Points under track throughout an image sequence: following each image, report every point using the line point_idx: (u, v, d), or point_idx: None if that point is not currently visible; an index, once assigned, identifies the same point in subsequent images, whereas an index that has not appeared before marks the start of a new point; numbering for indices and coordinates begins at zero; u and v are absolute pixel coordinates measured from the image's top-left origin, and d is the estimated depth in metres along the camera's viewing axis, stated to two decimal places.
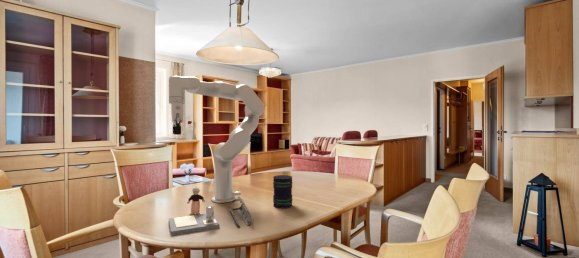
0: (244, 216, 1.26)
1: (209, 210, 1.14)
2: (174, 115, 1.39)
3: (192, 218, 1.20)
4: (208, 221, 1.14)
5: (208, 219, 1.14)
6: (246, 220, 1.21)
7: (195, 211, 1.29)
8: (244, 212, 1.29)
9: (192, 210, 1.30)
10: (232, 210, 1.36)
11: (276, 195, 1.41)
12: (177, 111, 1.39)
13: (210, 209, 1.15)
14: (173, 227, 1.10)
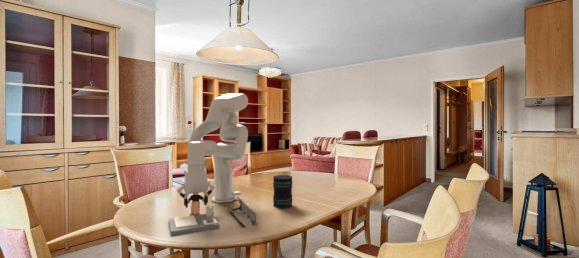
0: (246, 216, 1.26)
1: (209, 210, 1.14)
2: (207, 184, 1.31)
3: (192, 218, 1.20)
4: (208, 221, 1.14)
5: (208, 219, 1.14)
6: (249, 220, 1.22)
7: (195, 211, 1.29)
8: (245, 212, 1.30)
9: (192, 210, 1.30)
10: (231, 210, 1.36)
11: (276, 195, 1.41)
12: None
13: (210, 209, 1.15)
14: (173, 227, 1.10)
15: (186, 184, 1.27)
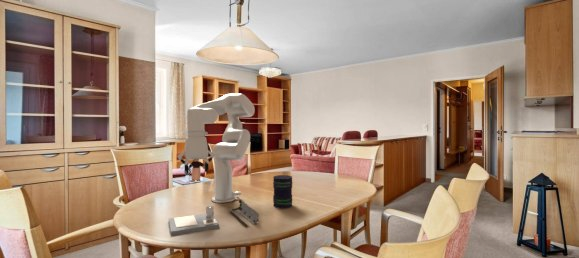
0: (247, 216, 1.27)
1: (209, 210, 1.14)
2: (207, 151, 1.31)
3: (192, 218, 1.20)
4: (208, 221, 1.14)
5: (208, 219, 1.14)
6: (251, 219, 1.22)
7: (196, 177, 1.29)
8: (246, 212, 1.30)
9: (193, 177, 1.30)
10: (231, 210, 1.36)
11: (276, 195, 1.41)
12: None
13: (210, 209, 1.15)
14: (173, 227, 1.10)
15: (186, 150, 1.27)
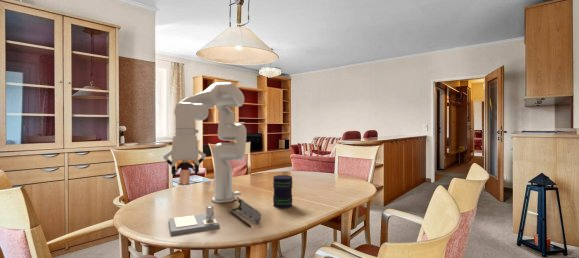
0: (248, 215, 1.27)
1: (209, 210, 1.14)
2: (198, 151, 1.17)
3: (192, 218, 1.20)
4: (208, 221, 1.14)
5: (208, 219, 1.14)
6: (253, 219, 1.22)
7: (184, 181, 1.15)
8: (246, 211, 1.30)
9: (181, 180, 1.15)
10: None
11: (276, 195, 1.41)
12: (197, 146, 1.18)
13: (210, 209, 1.15)
14: (173, 227, 1.10)
15: (174, 150, 1.12)
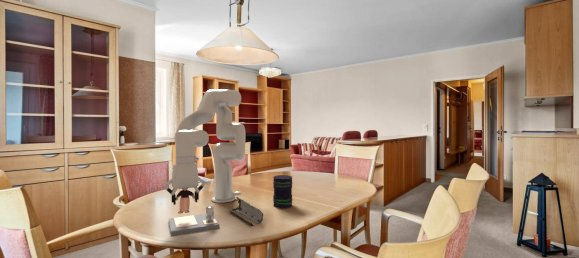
0: (249, 215, 1.27)
1: (209, 210, 1.14)
2: (198, 178, 1.17)
3: (192, 218, 1.20)
4: (208, 221, 1.14)
5: (208, 219, 1.14)
6: (254, 219, 1.23)
7: (184, 209, 1.15)
8: (247, 211, 1.30)
9: (181, 208, 1.16)
10: None
11: (276, 195, 1.41)
12: None
13: (210, 209, 1.15)
14: (173, 227, 1.10)
15: (174, 178, 1.12)
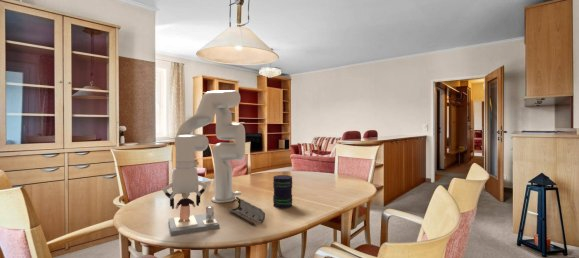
0: (250, 215, 1.27)
1: (209, 210, 1.14)
2: (198, 183, 1.17)
3: (192, 218, 1.20)
4: (208, 221, 1.14)
5: (208, 219, 1.14)
6: (256, 218, 1.23)
7: (184, 217, 1.15)
8: (248, 211, 1.31)
9: (181, 216, 1.16)
10: (231, 211, 1.35)
11: (276, 195, 1.41)
12: None
13: (210, 209, 1.15)
14: (173, 227, 1.10)
15: (174, 183, 1.12)
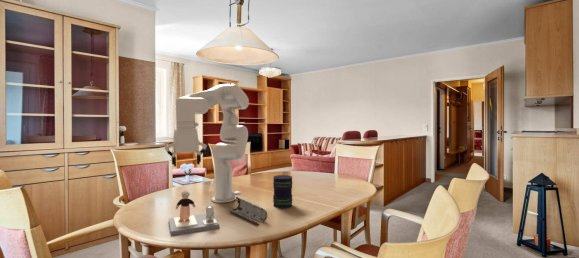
0: (251, 215, 1.28)
1: (209, 210, 1.14)
2: (198, 143, 1.23)
3: (192, 218, 1.20)
4: (208, 221, 1.14)
5: (208, 219, 1.14)
6: (258, 218, 1.24)
7: (184, 217, 1.15)
8: (248, 211, 1.31)
9: (181, 216, 1.16)
10: (231, 211, 1.35)
11: (276, 195, 1.41)
12: None
13: (210, 209, 1.15)
14: (173, 227, 1.10)
15: (175, 142, 1.19)
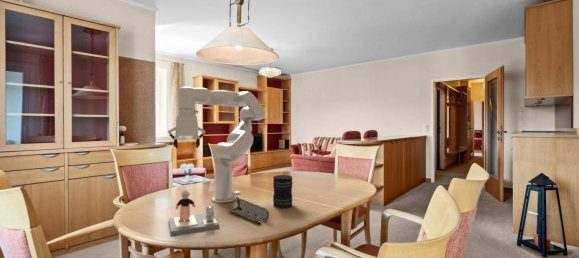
0: (252, 214, 1.28)
1: (209, 210, 1.14)
2: (197, 128, 1.38)
3: (192, 218, 1.20)
4: (208, 221, 1.14)
5: (208, 219, 1.14)
6: (259, 217, 1.24)
7: (184, 217, 1.15)
8: (249, 211, 1.31)
9: (181, 216, 1.16)
10: (231, 211, 1.35)
11: (276, 195, 1.41)
12: (197, 124, 1.39)
13: (210, 209, 1.15)
14: (173, 227, 1.10)
15: (177, 126, 1.33)
